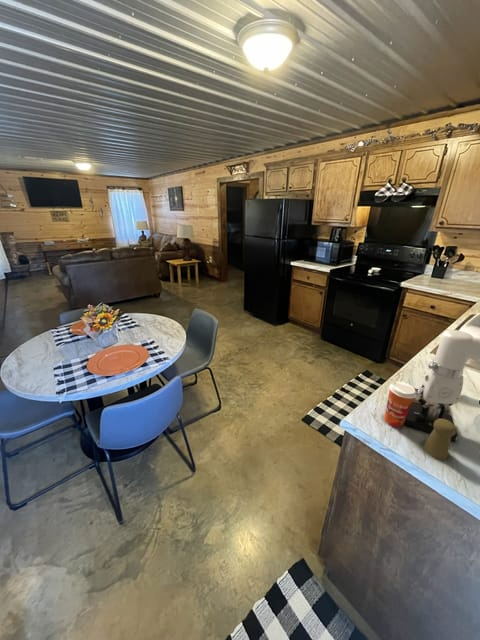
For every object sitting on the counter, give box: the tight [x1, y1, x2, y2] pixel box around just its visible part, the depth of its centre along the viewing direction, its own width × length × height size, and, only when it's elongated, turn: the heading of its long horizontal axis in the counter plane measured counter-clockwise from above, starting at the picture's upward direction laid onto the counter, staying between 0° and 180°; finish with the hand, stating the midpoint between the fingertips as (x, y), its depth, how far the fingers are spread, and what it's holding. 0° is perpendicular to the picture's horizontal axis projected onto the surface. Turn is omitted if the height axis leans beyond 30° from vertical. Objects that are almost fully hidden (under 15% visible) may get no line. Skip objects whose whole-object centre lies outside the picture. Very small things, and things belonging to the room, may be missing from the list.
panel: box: [403, 404, 459, 443], centre depth 89 cm, size 14×10×3 cm
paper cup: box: [384, 381, 417, 428], centre depth 88 cm, size 8×8×14 cm
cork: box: [423, 419, 457, 461], centre depth 77 cm, size 6×6×11 cm
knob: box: [425, 403, 441, 422], centre depth 87 cm, size 4×4×5 cm
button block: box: [412, 387, 450, 414], centre depth 99 cm, size 12×10×4 cm
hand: (429, 414), depth 88 cm, fingers closed on knob, 4 cm apart
